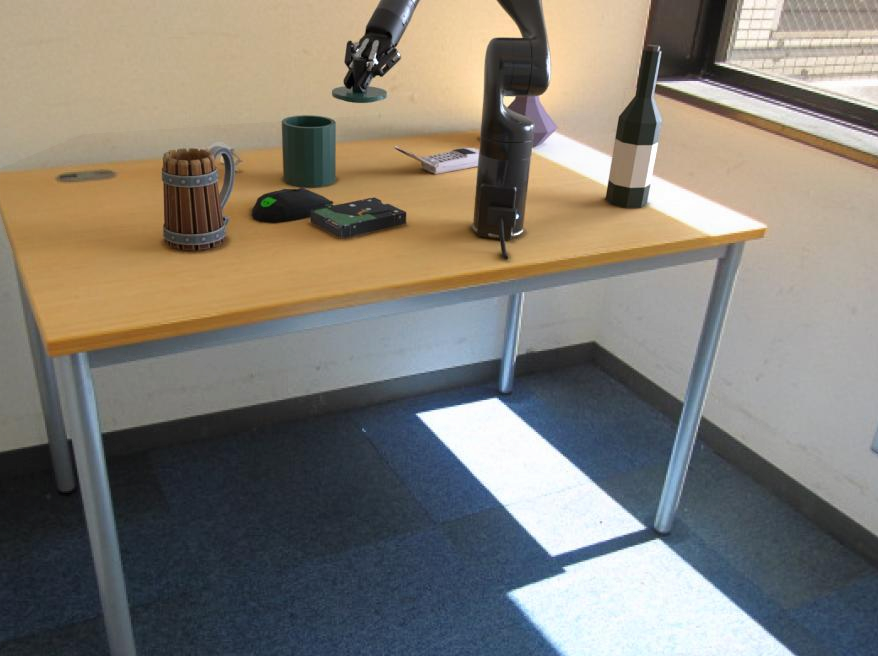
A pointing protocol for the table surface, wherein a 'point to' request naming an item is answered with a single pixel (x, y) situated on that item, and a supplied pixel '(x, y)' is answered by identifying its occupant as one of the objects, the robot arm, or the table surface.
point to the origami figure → (227, 148)
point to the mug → (195, 198)
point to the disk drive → (357, 217)
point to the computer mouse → (287, 205)
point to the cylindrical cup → (309, 150)
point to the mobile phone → (447, 160)
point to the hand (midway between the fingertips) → (353, 87)
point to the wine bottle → (636, 139)
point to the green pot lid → (354, 93)
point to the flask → (535, 117)
